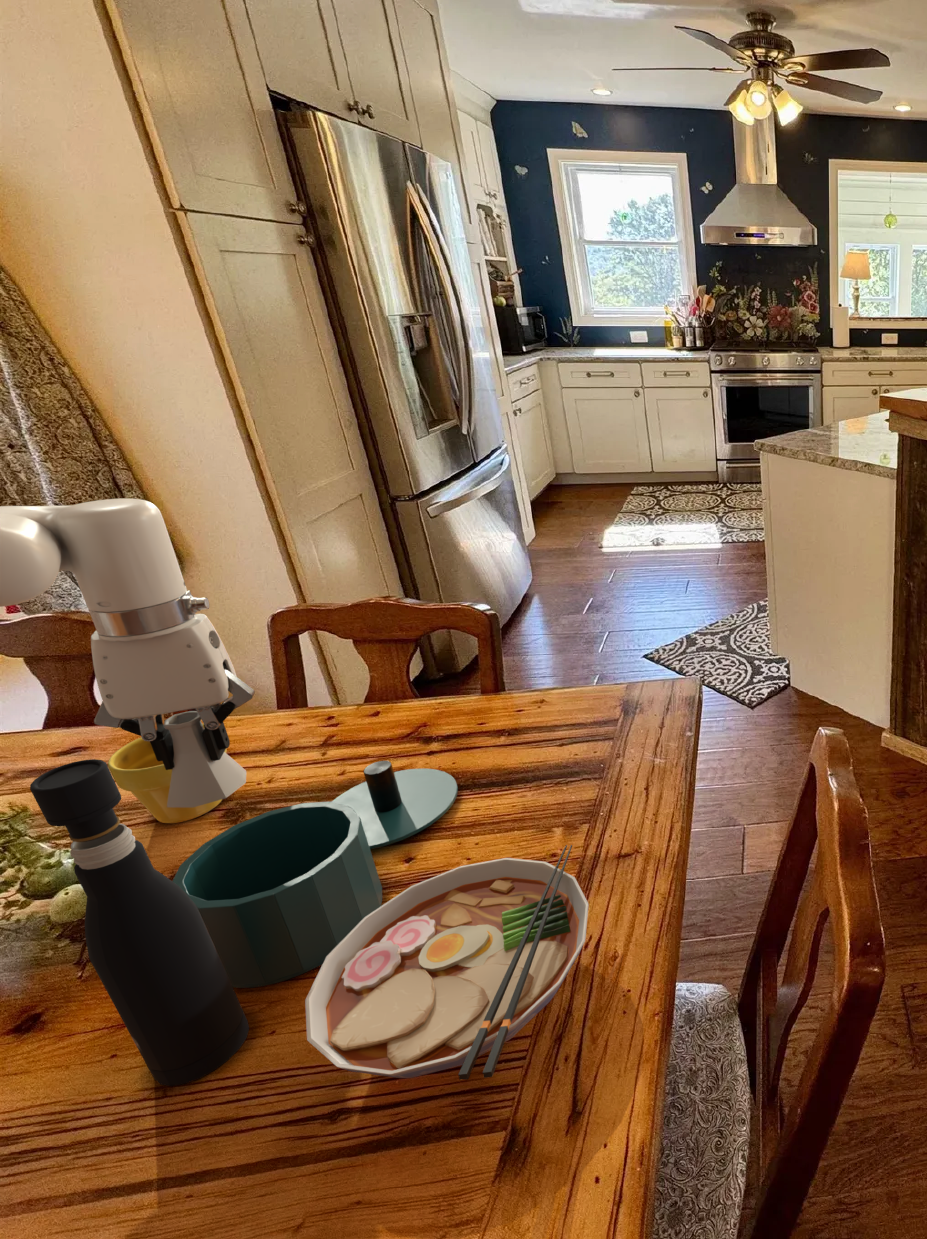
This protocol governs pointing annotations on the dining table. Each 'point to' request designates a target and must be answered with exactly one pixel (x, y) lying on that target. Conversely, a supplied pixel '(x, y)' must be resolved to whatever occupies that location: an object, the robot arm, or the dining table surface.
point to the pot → (282, 889)
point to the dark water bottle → (143, 933)
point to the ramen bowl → (448, 969)
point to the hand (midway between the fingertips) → (196, 757)
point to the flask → (198, 766)
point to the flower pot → (150, 782)
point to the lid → (399, 801)
